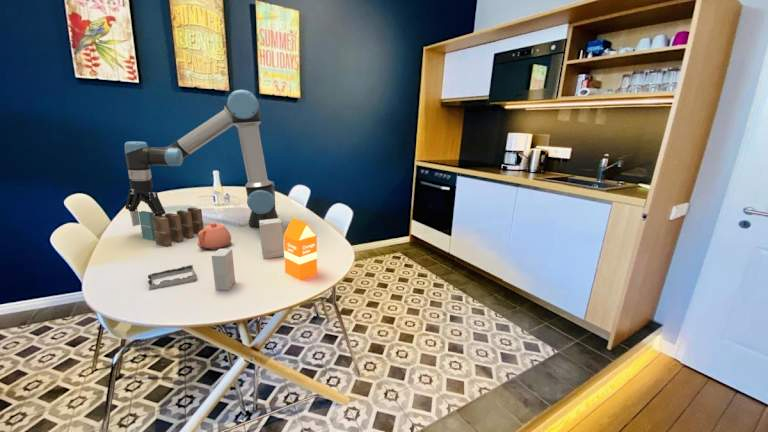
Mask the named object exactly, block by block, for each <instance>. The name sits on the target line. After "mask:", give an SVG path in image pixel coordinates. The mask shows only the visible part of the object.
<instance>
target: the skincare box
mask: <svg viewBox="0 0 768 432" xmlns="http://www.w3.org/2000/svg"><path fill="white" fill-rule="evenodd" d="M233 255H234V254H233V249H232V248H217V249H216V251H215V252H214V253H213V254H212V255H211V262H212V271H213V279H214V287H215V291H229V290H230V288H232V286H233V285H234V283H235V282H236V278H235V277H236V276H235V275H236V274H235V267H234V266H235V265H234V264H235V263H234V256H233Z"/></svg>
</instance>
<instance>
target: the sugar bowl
mask: <svg viewBox="0 0 768 432" xmlns="http://www.w3.org/2000/svg"><path fill="white" fill-rule="evenodd" d="M197 238H198V242H197V246H198V247H200V248H201V247H202V248H204V249H212V250H218V249H221V248H223V247H226V246H227V245H228V244H230V243H231V241H232V236H231V234H230V231H229V230H228V229H227V227H226V226H224V225H223V224H220V223H217V222H211V223H209V224H208V225H205V226H203V230H201V231H200V232H199V233H198V235H197Z"/></svg>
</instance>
